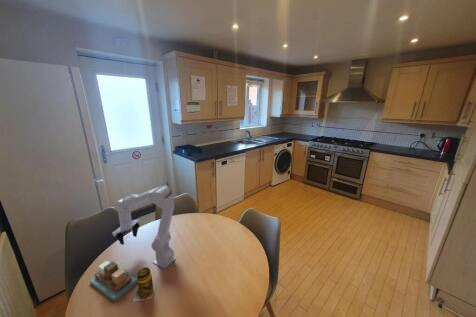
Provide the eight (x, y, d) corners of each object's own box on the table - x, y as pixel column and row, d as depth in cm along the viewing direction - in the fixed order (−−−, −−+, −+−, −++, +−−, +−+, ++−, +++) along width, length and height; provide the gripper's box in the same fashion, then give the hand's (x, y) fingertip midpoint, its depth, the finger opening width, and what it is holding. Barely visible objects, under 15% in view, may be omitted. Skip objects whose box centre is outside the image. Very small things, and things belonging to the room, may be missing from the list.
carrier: (131, 281, 91) (129, 267, 89) (117, 293, 85) (114, 278, 83) (110, 267, 99) (107, 254, 97) (95, 277, 93) (92, 263, 91)
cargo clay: (126, 278, 90) (124, 271, 89) (117, 285, 86) (116, 277, 85) (120, 275, 92) (119, 268, 91) (112, 281, 88) (111, 274, 87)
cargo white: (112, 270, 95) (111, 263, 94) (104, 276, 91) (102, 269, 90) (108, 267, 96) (107, 260, 96) (99, 272, 93) (98, 266, 92)
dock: (137, 282, 93) (137, 279, 92) (114, 301, 83) (113, 298, 83) (113, 267, 101) (113, 264, 101) (90, 283, 92) (89, 280, 92)
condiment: (152, 298, 85) (149, 276, 82) (132, 302, 83) (128, 280, 80) (155, 284, 92) (153, 263, 89) (137, 287, 90) (133, 267, 87)
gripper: (133, 211, 112) (136, 231, 116) (107, 223, 100) (111, 245, 103) (140, 214, 109) (143, 234, 113) (115, 227, 97) (119, 249, 100)
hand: (128, 240), depth 108 cm, fingers open, 7 cm apart
